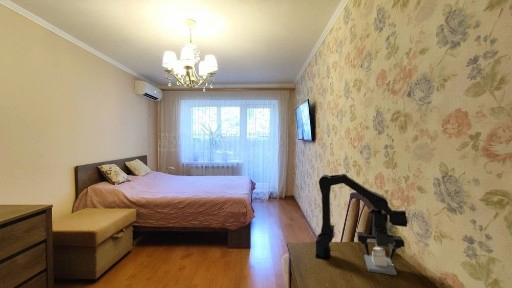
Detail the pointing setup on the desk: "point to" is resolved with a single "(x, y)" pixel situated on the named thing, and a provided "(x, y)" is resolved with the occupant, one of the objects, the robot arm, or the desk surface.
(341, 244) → the desk surface
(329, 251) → the robot arm
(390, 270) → the panel
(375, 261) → the knob
